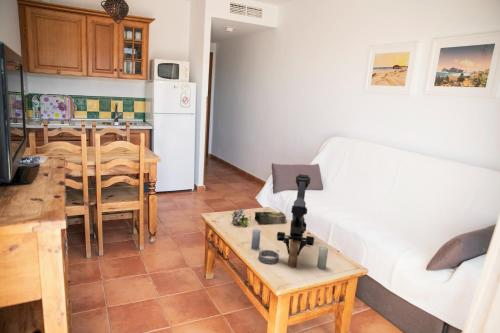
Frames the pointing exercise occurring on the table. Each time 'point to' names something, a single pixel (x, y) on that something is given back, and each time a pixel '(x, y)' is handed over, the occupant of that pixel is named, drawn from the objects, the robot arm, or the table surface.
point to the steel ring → (268, 260)
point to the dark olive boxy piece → (270, 217)
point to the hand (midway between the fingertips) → (293, 254)
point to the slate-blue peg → (255, 239)
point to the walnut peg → (293, 253)
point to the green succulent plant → (240, 217)
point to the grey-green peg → (322, 257)
